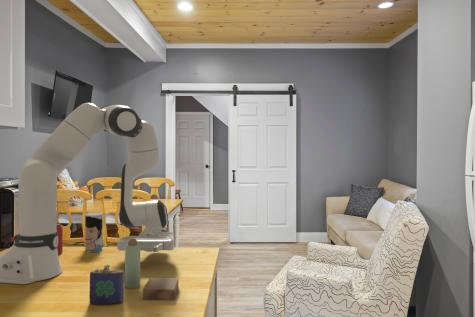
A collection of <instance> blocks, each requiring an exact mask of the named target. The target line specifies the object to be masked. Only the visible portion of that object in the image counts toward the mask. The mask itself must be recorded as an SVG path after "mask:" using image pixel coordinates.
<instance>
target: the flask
mask: <svg viewBox="0 0 475 317" xmlns="http://www.w3.org/2000/svg"><path fill="white" fill-rule="evenodd" d="M110 267H111V265H110V264H106V265H104V266H103V268H102V269H100V268H96V269H94V270H91V271H90V272H89V305H91V306H105V305H108V306H109V305H110V306H111V305H119V304H120V305H122V304H123V303H124V300H125V296H124V295H125V294H124V290H125V288H124V287H125V270H123V269H116V270H114V269H113V270H110Z"/></svg>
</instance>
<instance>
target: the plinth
mask: <svg viewBox="0 0 475 317" xmlns="http://www.w3.org/2000/svg"><path fill="white" fill-rule="evenodd" d="M179 280H180V279H179V278H178V277H172V278H171V277H167V278H166V277H164V278H163V277H161V278H160V277H150V278H148V280H147V282H146V283H145V285H144V287H143V288H142V300H143V301H175V299H176V298H177V293H178V290H179Z"/></svg>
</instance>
